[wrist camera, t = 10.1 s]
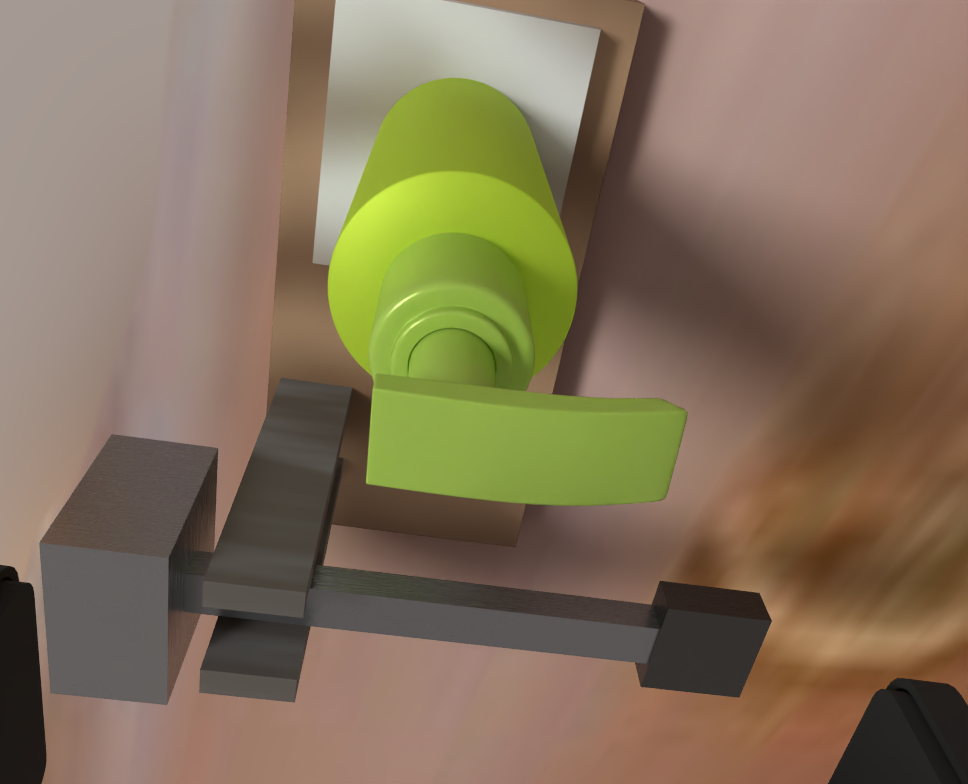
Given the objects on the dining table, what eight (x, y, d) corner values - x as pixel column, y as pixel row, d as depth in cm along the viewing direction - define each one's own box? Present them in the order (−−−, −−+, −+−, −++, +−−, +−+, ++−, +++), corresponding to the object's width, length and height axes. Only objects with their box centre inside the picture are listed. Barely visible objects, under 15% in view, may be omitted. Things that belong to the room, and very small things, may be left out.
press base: (514, 527, 43) (537, 783, 31) (265, 496, 42) (182, 749, 29) (637, 0, 32) (753, 56, 20) (305, -63, 31) (198, -47, 18)
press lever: (701, 637, 36) (743, 763, 30) (115, 569, 33) (50, 693, 28) (747, 517, 33) (802, 632, 28) (111, 434, 31) (39, 542, 25)
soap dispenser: (550, 250, 34) (647, 604, 16) (369, 230, 34) (269, 575, 16) (576, 91, 31) (726, 313, 14) (379, 67, 31) (273, 265, 13)
